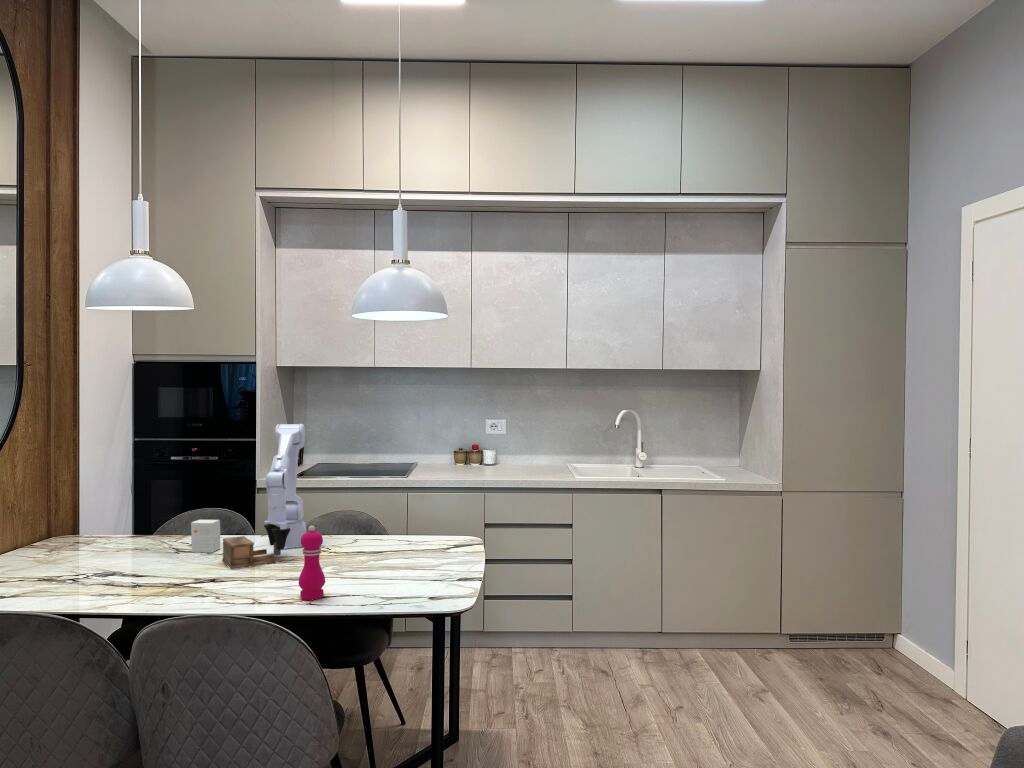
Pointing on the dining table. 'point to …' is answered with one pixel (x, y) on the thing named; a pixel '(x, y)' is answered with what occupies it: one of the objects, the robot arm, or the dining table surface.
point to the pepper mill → (311, 566)
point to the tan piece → (245, 552)
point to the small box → (205, 535)
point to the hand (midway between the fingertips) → (277, 547)
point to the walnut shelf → (245, 562)
